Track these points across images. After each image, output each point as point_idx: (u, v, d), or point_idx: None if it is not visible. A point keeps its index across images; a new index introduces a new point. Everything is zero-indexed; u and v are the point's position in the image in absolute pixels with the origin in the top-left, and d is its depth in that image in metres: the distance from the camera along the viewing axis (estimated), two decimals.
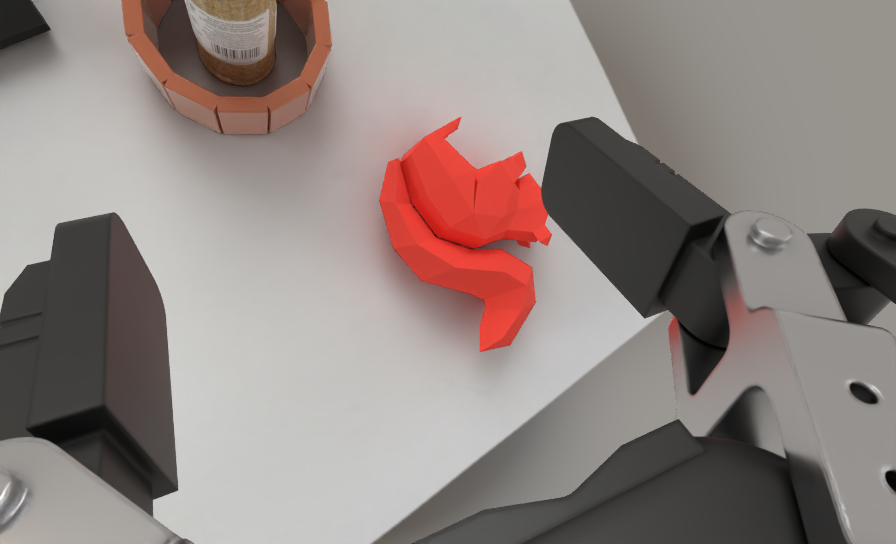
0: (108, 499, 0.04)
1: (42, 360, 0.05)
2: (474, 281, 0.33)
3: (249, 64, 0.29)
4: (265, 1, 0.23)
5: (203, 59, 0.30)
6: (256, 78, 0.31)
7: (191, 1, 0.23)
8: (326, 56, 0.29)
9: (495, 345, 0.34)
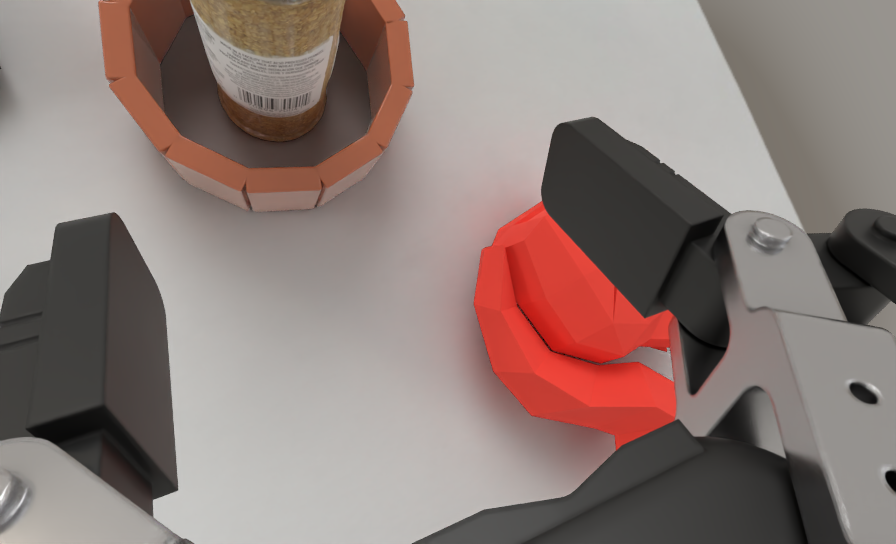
0: (108, 499, 0.04)
1: (42, 360, 0.05)
2: (607, 416, 0.23)
3: (293, 115, 0.19)
4: (330, 24, 0.14)
5: (225, 107, 0.21)
6: (300, 131, 0.22)
7: (207, 26, 0.14)
8: (406, 102, 0.19)
9: None
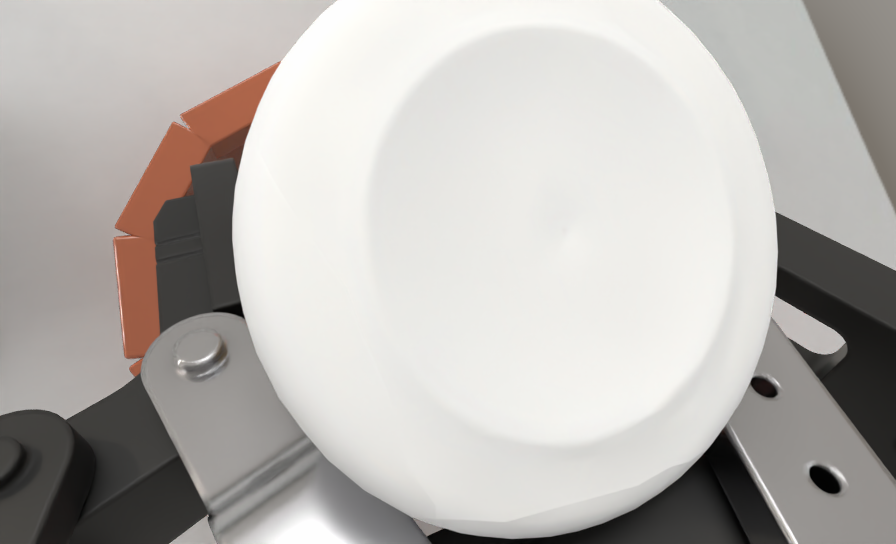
0: None
1: (210, 263, 0.07)
2: None
3: None
4: None
5: None
6: None
7: None
8: None
9: None
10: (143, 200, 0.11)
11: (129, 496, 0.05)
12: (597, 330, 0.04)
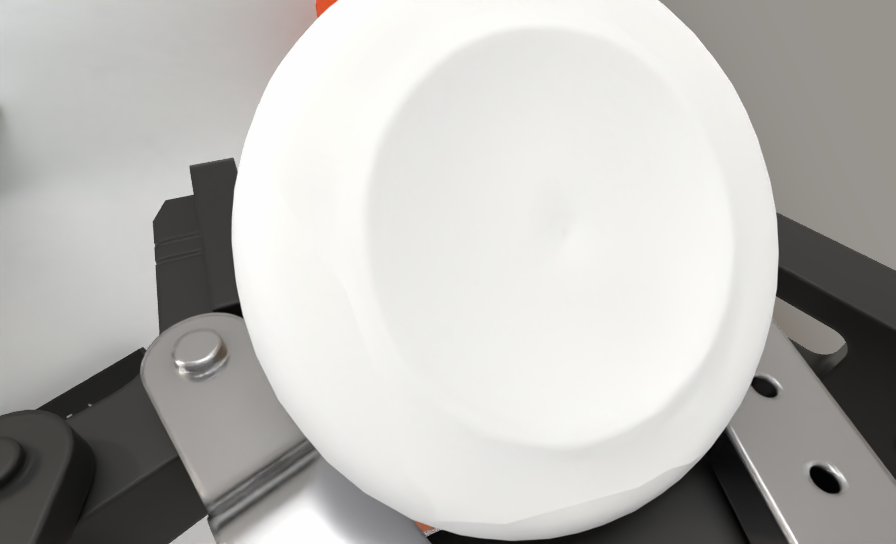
0: None
1: (210, 263, 0.07)
2: None
3: None
4: None
5: None
6: None
7: None
8: None
9: None
10: None
11: (129, 496, 0.05)
12: (597, 332, 0.04)
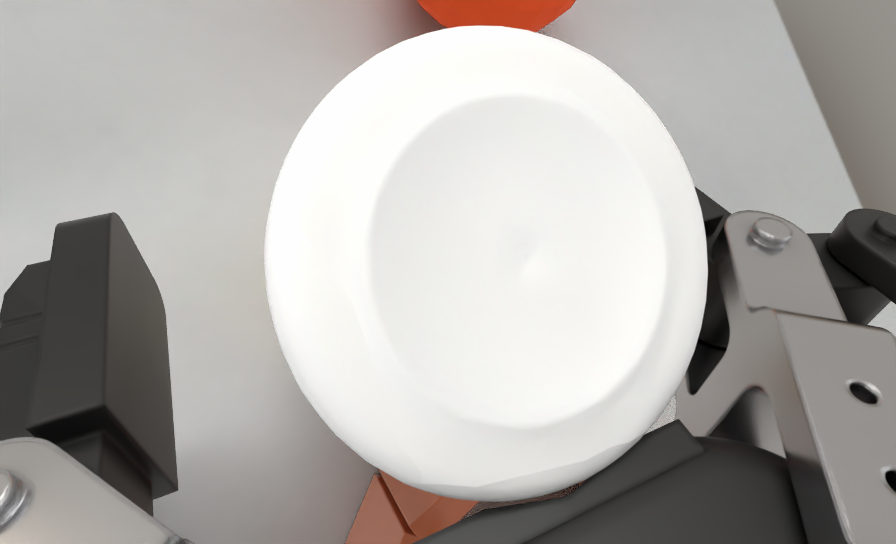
0: (108, 499, 0.04)
1: (42, 360, 0.05)
2: None
3: None
4: None
5: None
6: None
7: None
8: None
9: None
10: None
11: None
12: (552, 336, 0.05)
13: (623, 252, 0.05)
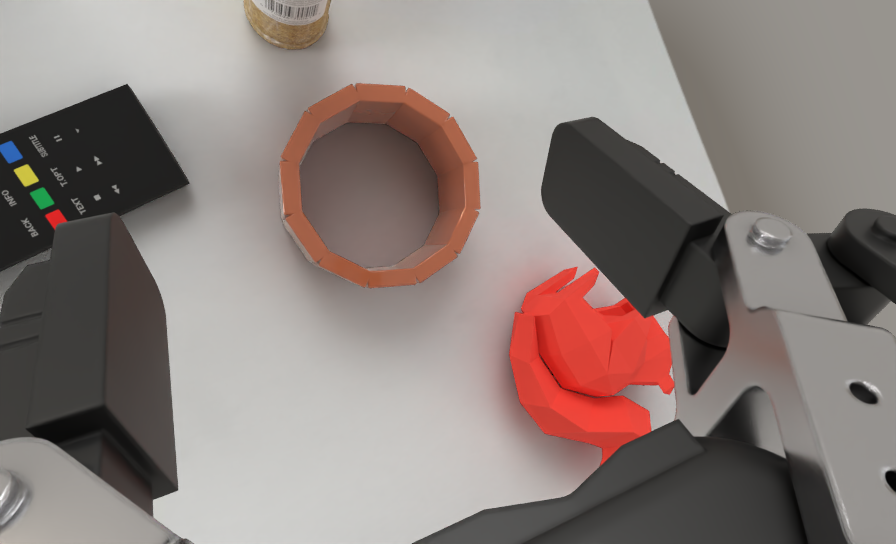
0: (107, 499, 0.04)
1: (42, 360, 0.05)
2: (598, 436, 0.32)
3: (303, 24, 0.25)
4: None
5: (250, 17, 0.27)
6: (307, 42, 0.28)
7: None
8: (474, 220, 0.27)
9: None
10: (292, 145, 0.24)
11: None
12: None
13: None
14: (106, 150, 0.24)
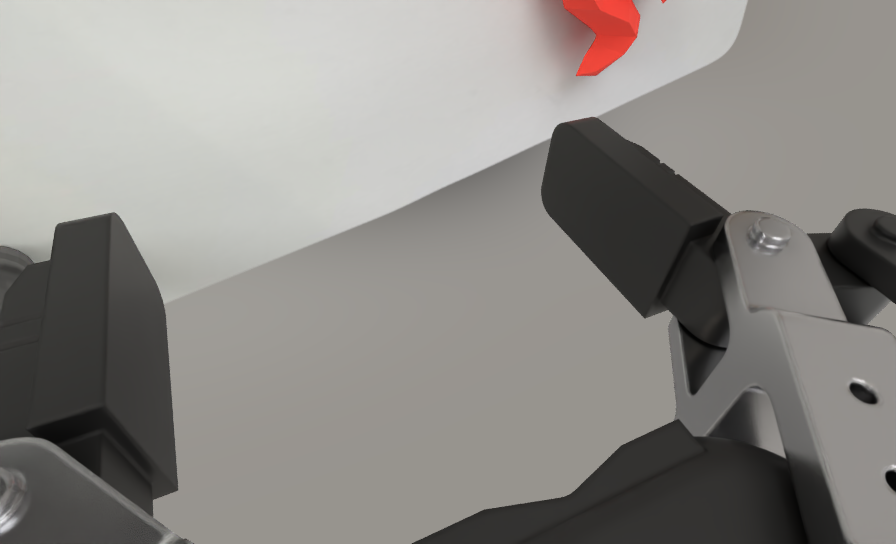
0: (108, 499, 0.04)
1: (42, 360, 0.05)
2: (601, 21, 0.41)
3: None
4: None
5: None
6: None
7: None
8: None
9: (588, 74, 0.45)
10: None
11: None
12: None
13: None
14: None
